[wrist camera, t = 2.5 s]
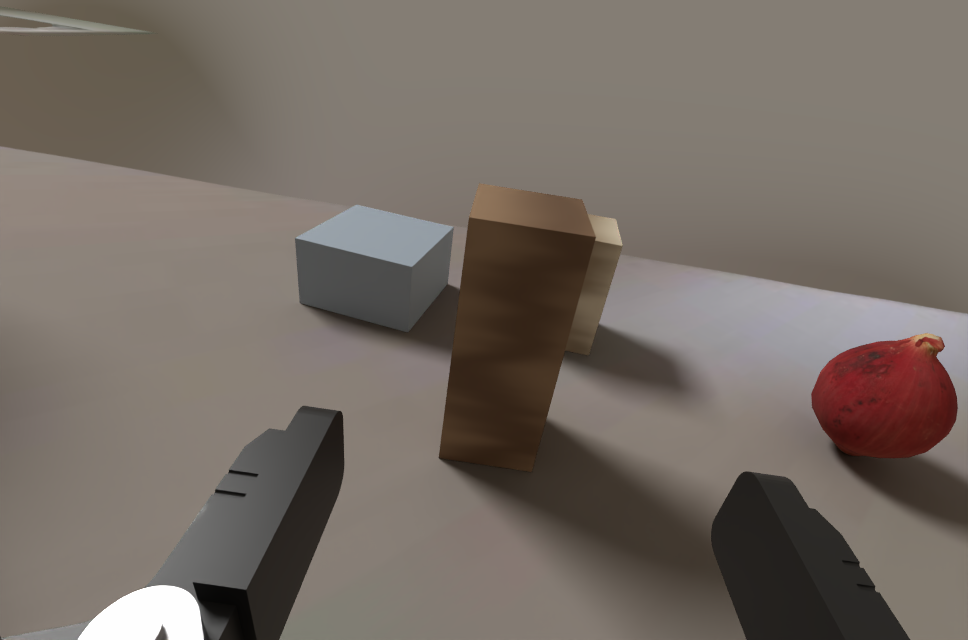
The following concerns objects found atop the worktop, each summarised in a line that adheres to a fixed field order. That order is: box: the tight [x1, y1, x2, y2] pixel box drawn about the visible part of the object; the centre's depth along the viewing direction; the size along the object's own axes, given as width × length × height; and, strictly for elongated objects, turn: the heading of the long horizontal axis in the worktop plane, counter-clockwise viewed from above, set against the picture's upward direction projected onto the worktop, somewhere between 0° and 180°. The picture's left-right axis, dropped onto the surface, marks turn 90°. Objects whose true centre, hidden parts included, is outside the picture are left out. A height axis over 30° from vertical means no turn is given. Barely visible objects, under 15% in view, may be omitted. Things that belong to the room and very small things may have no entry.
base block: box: [295, 205, 454, 332], centre depth 35 cm, size 8×8×5 cm
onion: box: [811, 333, 958, 458], centre depth 25 cm, size 6×6×8 cm
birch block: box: [565, 214, 623, 355], centre depth 33 cm, size 5×5×8 cm
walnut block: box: [439, 184, 596, 472], centre depth 22 cm, size 4×4×12 cm
